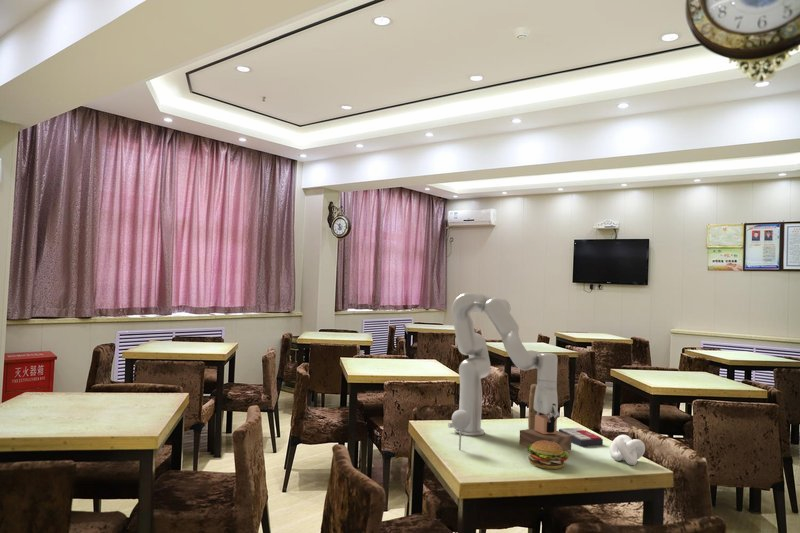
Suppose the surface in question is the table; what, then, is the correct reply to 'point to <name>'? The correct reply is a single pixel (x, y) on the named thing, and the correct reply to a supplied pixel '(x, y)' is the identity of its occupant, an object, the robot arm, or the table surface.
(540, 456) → the food
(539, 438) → the walnut block
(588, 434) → the calculator
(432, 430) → the table surface
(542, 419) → the terracotta cube
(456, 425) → the lollipop
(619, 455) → the white knot
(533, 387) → the brown rock
